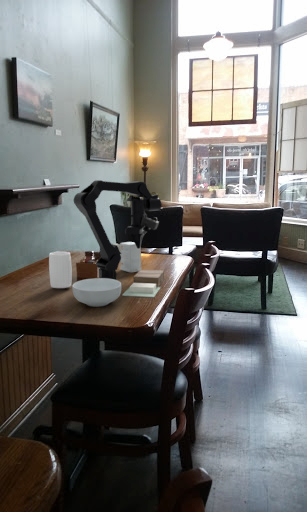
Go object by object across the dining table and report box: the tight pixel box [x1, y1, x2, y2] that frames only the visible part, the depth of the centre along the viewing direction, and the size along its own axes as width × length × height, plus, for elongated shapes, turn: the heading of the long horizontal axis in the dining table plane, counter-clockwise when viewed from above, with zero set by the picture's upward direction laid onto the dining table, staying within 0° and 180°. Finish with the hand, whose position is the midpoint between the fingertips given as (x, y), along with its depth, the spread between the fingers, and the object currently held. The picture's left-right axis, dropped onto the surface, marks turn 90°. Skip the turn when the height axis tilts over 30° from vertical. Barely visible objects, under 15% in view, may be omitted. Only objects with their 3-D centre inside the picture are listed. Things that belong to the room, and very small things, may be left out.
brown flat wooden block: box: [133, 269, 165, 287], centre depth 175 cm, size 14×10×4 cm
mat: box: [121, 286, 162, 298], centre depth 162 cm, size 14×12×1 cm
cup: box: [48, 250, 73, 289], centre depth 166 cm, size 8×8×14 cm
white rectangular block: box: [129, 282, 156, 293], centre depth 163 cm, size 6×9×2 cm, turn 80°
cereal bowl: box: [71, 277, 122, 308], centre depth 147 cm, size 17×17×7 cm
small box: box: [119, 241, 142, 273], centre depth 198 cm, size 8×6×13 cm
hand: (138, 248), depth 182 cm, fingers closed
